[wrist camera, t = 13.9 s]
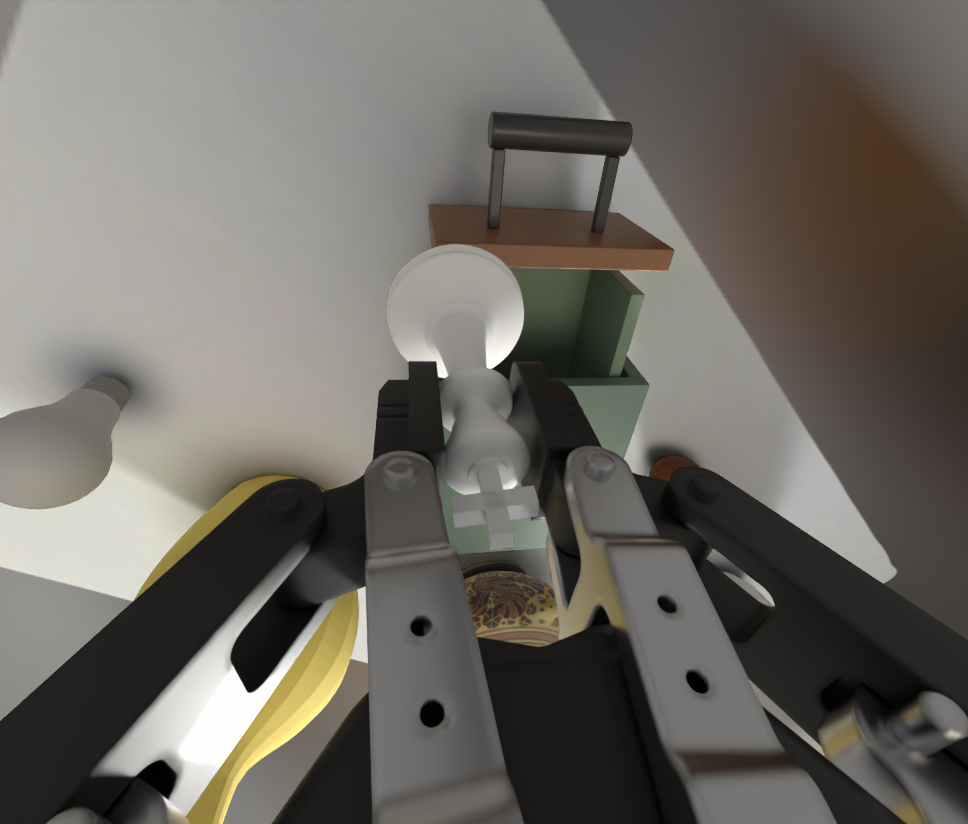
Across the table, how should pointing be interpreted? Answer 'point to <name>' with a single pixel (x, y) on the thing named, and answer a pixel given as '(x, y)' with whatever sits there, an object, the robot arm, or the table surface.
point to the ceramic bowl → (511, 604)
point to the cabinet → (613, 422)
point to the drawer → (561, 251)
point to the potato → (669, 466)
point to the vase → (297, 690)
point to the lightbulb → (60, 446)
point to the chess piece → (469, 376)
